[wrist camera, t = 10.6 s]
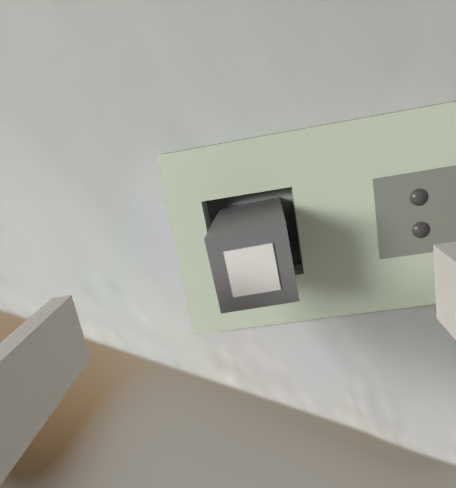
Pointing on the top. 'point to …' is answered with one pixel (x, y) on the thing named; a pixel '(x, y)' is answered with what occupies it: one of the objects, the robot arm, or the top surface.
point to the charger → (251, 256)
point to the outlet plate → (327, 212)
